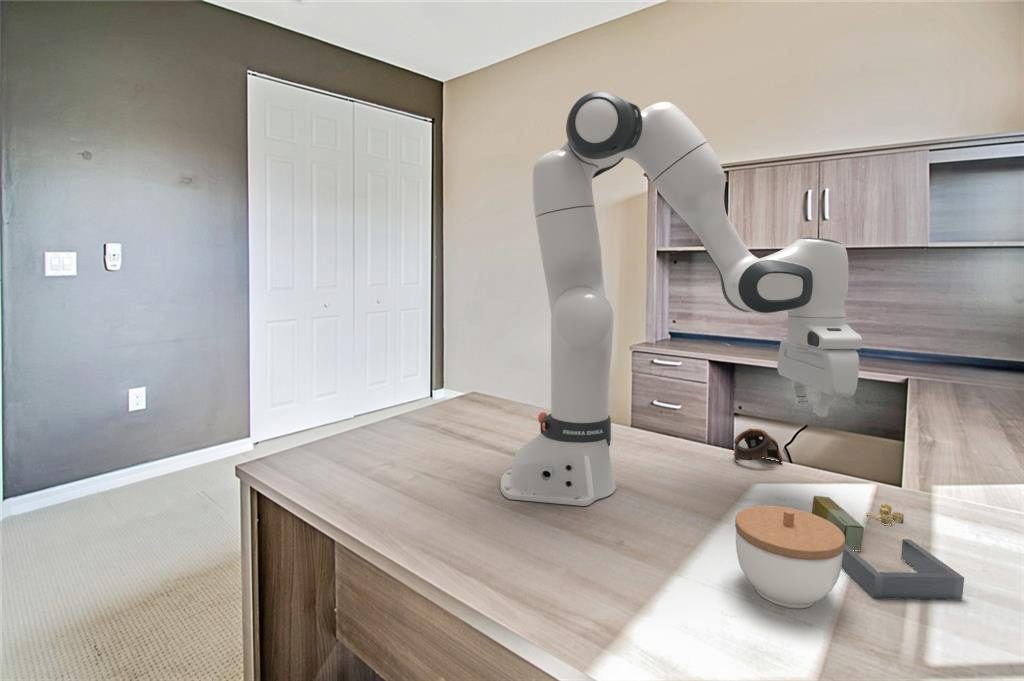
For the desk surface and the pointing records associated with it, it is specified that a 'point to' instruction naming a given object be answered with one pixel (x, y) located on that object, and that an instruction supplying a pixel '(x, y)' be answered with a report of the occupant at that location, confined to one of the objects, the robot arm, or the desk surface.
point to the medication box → (839, 520)
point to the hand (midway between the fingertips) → (810, 410)
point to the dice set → (885, 516)
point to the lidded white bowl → (788, 554)
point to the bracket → (906, 576)
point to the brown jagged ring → (756, 446)
